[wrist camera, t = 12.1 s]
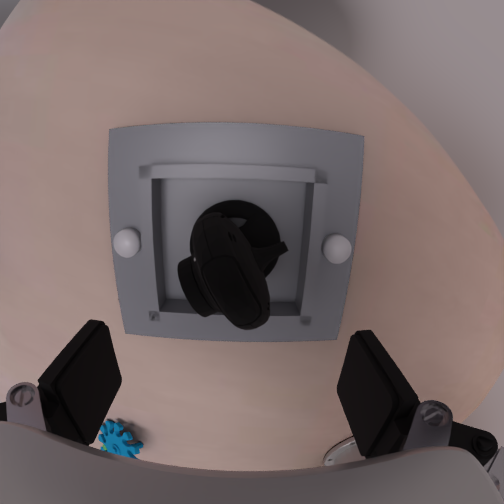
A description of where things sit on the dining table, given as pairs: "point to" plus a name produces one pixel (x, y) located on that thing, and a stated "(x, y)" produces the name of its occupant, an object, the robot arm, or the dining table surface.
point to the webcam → (231, 263)
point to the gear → (118, 440)
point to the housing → (233, 188)
